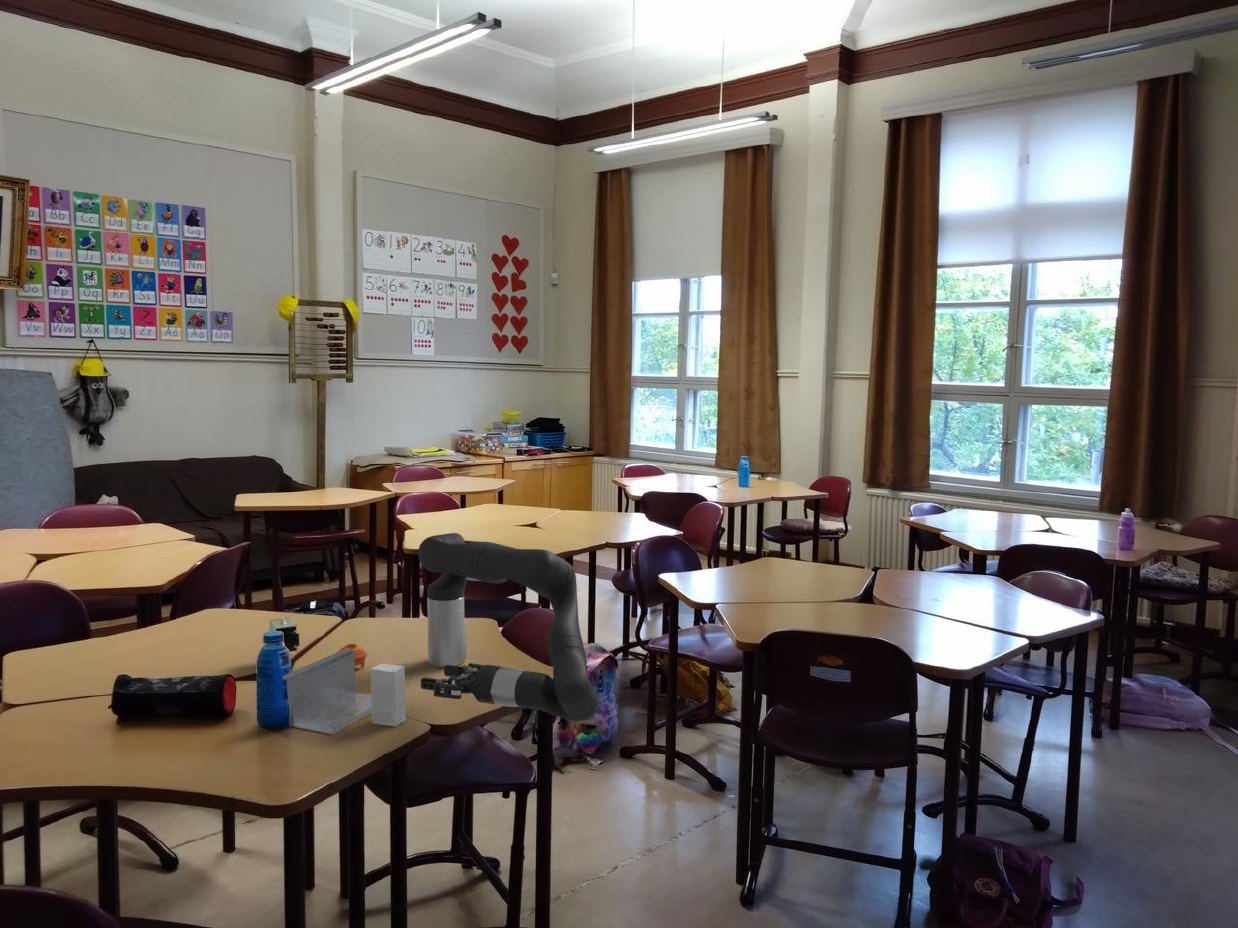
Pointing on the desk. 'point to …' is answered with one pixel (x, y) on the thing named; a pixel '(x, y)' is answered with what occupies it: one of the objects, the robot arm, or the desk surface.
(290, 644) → the pneumatic valve
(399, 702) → the skincare box
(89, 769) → the desk surface
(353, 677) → the bracket
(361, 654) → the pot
